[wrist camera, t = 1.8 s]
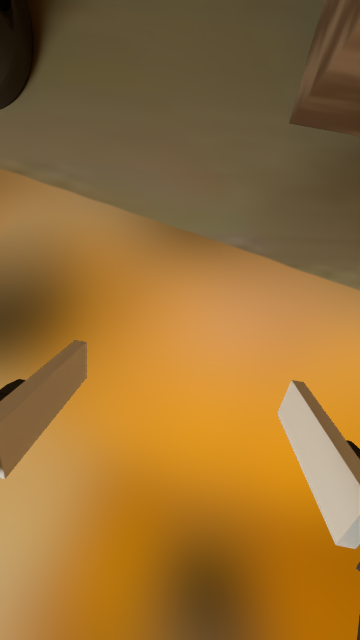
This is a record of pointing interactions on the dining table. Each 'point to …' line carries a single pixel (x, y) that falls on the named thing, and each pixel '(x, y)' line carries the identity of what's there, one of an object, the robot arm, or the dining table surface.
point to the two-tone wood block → (332, 72)
